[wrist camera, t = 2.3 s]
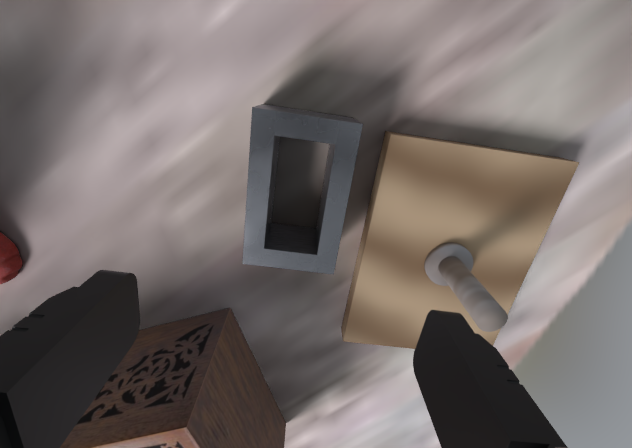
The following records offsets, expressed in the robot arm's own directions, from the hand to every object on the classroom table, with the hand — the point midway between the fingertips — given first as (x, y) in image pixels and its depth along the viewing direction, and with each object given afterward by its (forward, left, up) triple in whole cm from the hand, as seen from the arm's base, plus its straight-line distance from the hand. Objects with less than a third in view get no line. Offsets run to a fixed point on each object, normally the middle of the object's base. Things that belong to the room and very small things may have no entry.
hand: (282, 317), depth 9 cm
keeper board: (+4, +11, -14) cm, 18 cm away
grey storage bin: (0, 0, -14) cm, 14 cm away
